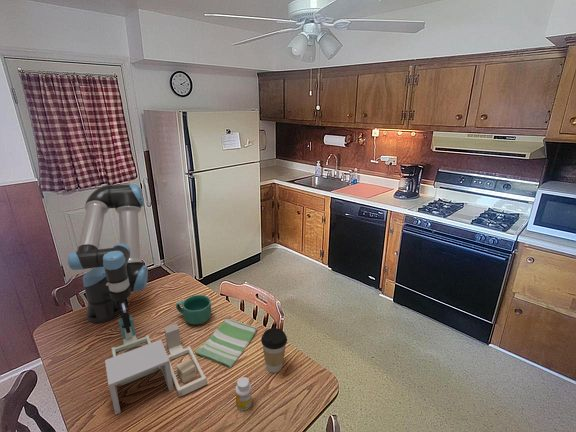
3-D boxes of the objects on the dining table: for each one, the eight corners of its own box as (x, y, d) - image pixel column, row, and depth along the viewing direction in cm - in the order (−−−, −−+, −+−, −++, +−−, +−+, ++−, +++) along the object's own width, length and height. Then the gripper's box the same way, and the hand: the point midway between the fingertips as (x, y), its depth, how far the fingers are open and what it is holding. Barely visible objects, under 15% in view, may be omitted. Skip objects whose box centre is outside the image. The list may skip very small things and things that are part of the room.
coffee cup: (290, 360, 125) (290, 330, 120) (281, 379, 116) (281, 348, 111) (267, 354, 128) (267, 324, 123) (257, 372, 119) (256, 341, 114)
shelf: (111, 388, 112) (104, 360, 107) (165, 366, 121) (161, 339, 117) (115, 414, 102) (108, 385, 98) (173, 388, 112) (169, 360, 108)
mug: (216, 313, 152) (215, 297, 149) (203, 330, 141) (201, 313, 138) (186, 307, 156) (184, 291, 153) (171, 323, 145) (169, 306, 142)
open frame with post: (160, 347, 130) (157, 329, 127) (184, 338, 136) (182, 321, 132) (179, 397, 108) (176, 377, 105) (207, 384, 114) (205, 365, 111)
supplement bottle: (236, 396, 109) (235, 375, 106) (252, 395, 110) (251, 374, 107) (235, 411, 104) (234, 389, 101) (251, 410, 105) (250, 388, 102)
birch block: (177, 375, 118) (176, 365, 116) (189, 368, 121) (188, 358, 119) (183, 383, 114) (182, 373, 112) (196, 376, 117) (195, 366, 116)
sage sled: (110, 339, 134) (106, 322, 131) (145, 328, 141) (142, 311, 138) (118, 386, 112) (114, 367, 109) (159, 369, 119) (156, 351, 116)
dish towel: (193, 355, 128) (193, 350, 127) (225, 321, 148) (225, 316, 147) (230, 369, 121) (230, 364, 120) (259, 331, 141) (259, 327, 140)
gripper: (106, 280, 132) (116, 325, 140) (111, 301, 119) (121, 350, 127) (126, 275, 136) (134, 320, 144) (132, 295, 123) (141, 342, 131)
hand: (128, 333), depth 136 cm, fingers open, 4 cm apart
